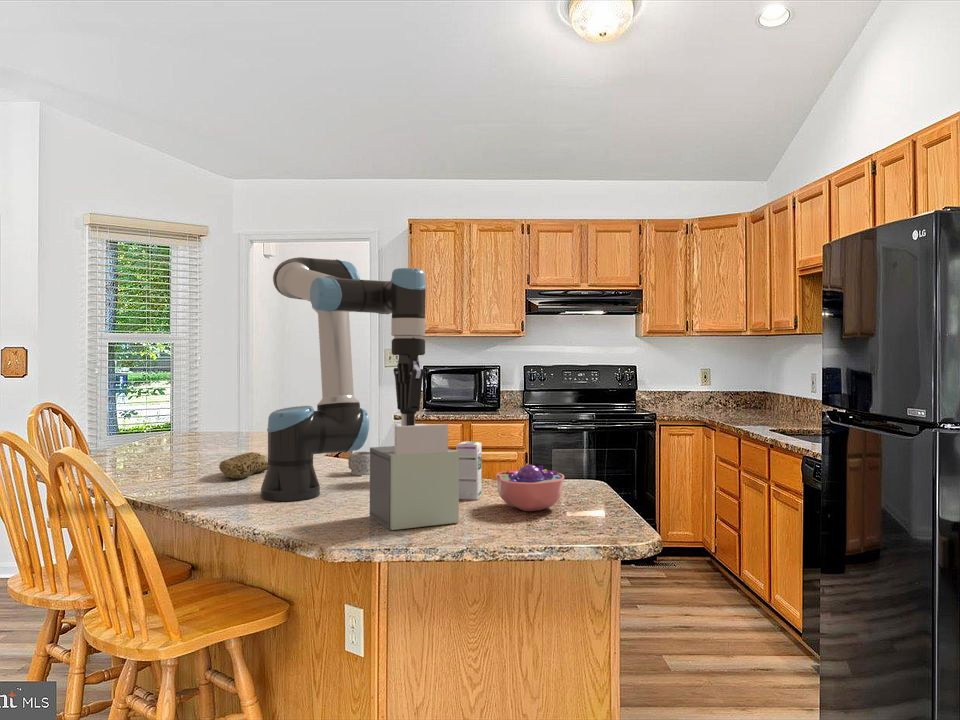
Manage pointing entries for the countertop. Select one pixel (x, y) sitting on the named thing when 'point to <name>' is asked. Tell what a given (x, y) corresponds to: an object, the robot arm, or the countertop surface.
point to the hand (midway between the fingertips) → (408, 442)
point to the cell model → (530, 487)
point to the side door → (423, 478)
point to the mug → (359, 463)
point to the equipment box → (381, 483)
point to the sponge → (244, 465)
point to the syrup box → (470, 470)
